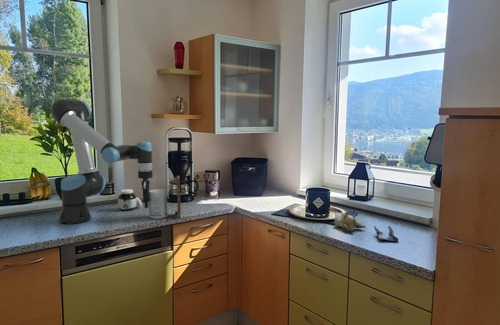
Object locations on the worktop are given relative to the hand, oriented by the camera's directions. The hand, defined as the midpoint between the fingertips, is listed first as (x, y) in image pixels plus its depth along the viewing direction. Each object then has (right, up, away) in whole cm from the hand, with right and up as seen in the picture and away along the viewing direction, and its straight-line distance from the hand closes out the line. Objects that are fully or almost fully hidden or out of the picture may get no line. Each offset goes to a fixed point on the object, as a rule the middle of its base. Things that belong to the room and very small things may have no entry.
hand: (146, 213), depth 202 cm
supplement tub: (+6, -2, +2) cm, 7 cm away
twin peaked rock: (+118, -7, -33) cm, 123 cm away
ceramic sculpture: (+104, -5, -19) cm, 106 cm away
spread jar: (-15, 0, +20) cm, 25 cm away
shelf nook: (+15, -2, +4) cm, 16 cm away
